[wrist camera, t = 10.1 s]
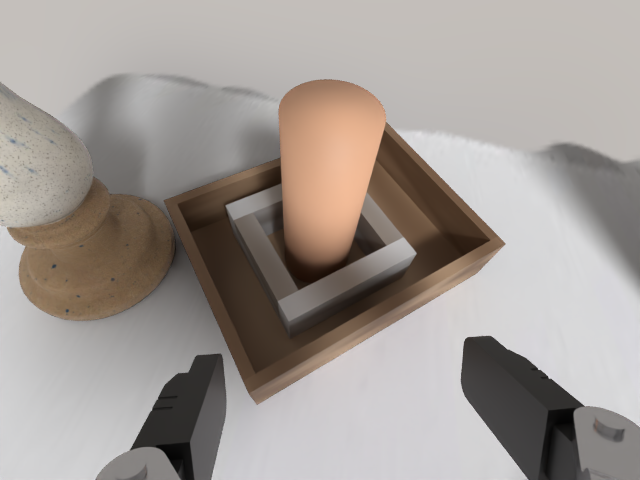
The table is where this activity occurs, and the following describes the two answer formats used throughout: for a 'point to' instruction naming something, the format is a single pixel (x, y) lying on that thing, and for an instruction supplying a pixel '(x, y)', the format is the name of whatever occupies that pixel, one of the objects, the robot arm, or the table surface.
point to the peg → (325, 171)
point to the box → (337, 288)
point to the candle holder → (74, 221)
